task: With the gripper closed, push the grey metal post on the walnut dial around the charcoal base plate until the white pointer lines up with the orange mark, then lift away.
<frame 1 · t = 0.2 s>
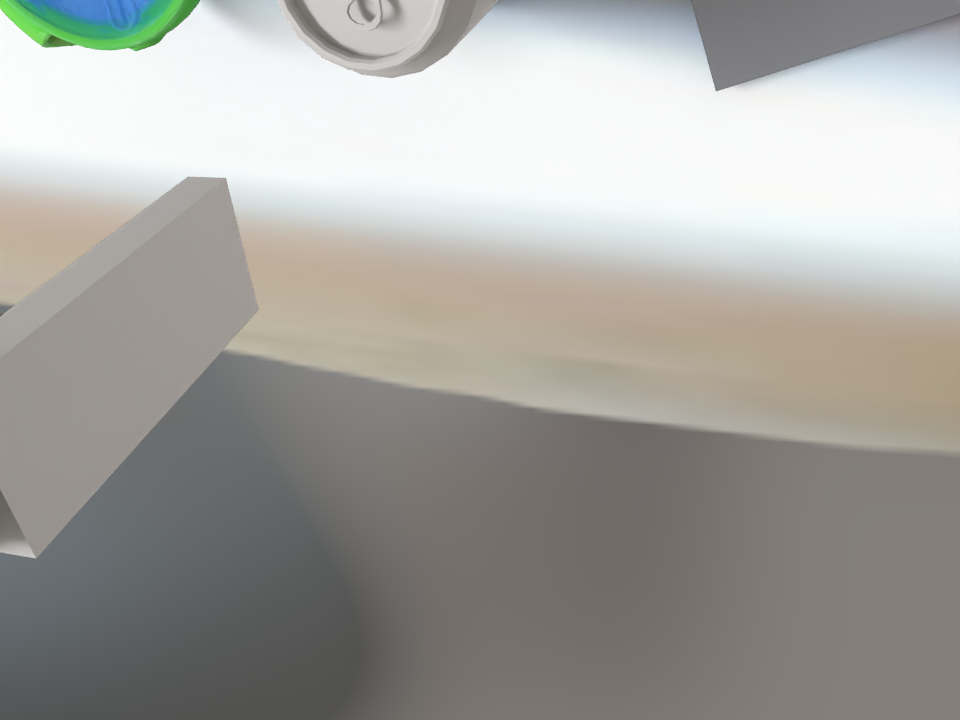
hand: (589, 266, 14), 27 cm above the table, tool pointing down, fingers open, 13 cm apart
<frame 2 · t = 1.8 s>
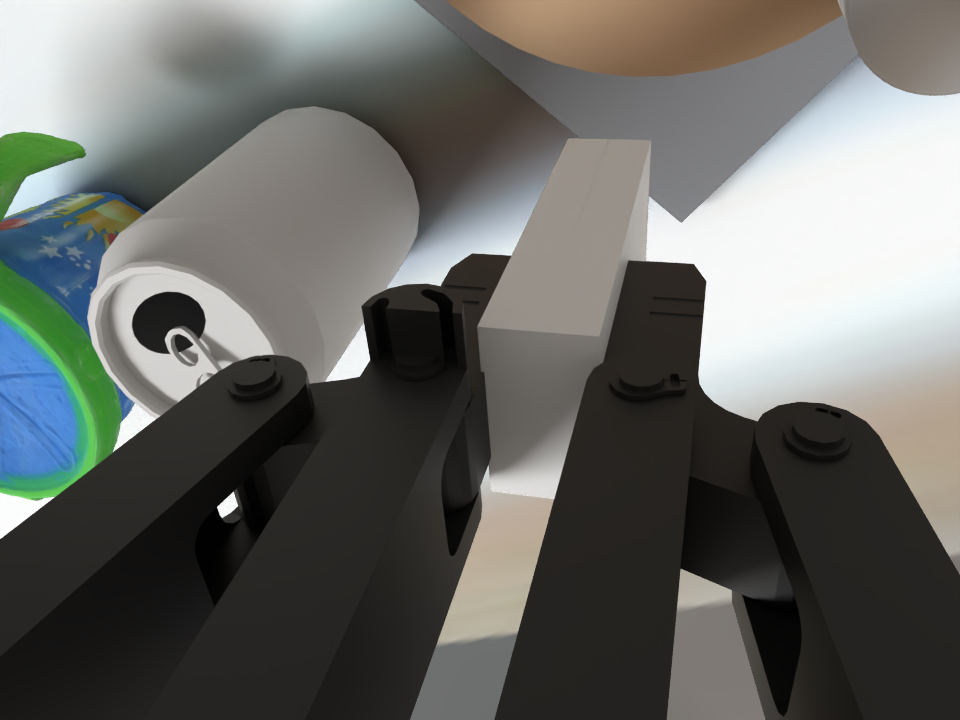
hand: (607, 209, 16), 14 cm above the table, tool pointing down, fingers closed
snack cup: (128, 259, 39), on the table
can: (338, 189, 34), on the table
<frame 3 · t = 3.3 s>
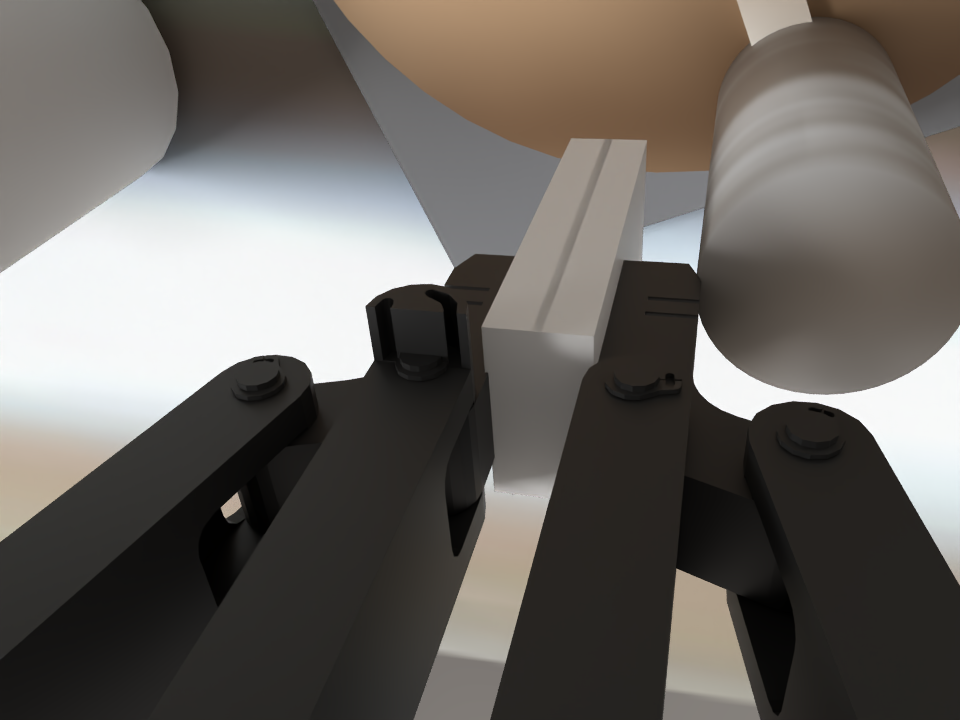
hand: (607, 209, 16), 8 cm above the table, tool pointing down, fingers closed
can: (86, 55, 26), on the table
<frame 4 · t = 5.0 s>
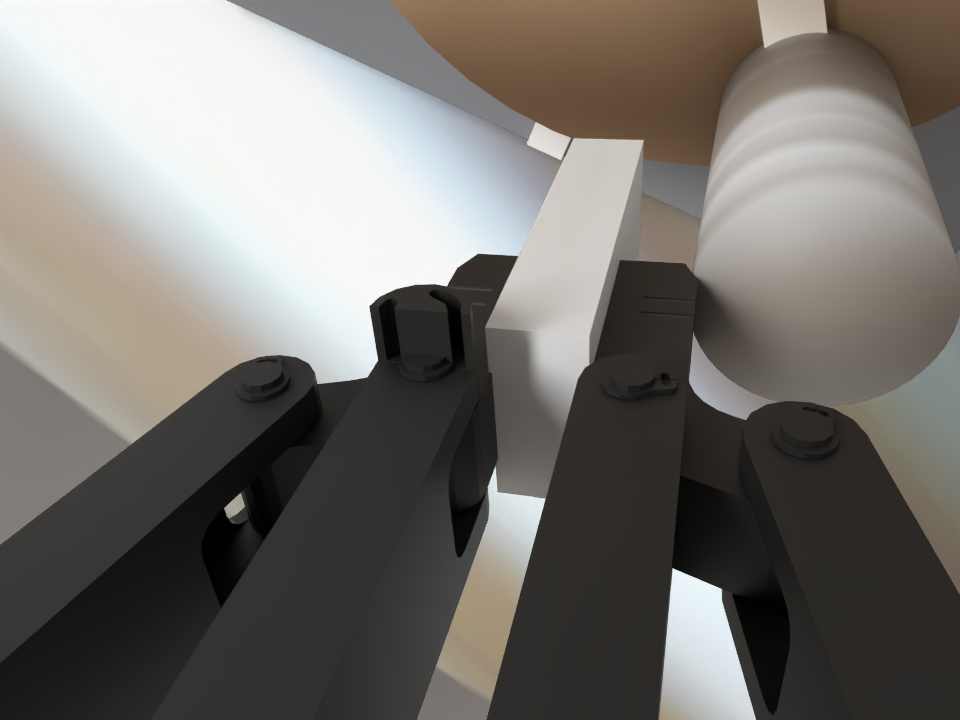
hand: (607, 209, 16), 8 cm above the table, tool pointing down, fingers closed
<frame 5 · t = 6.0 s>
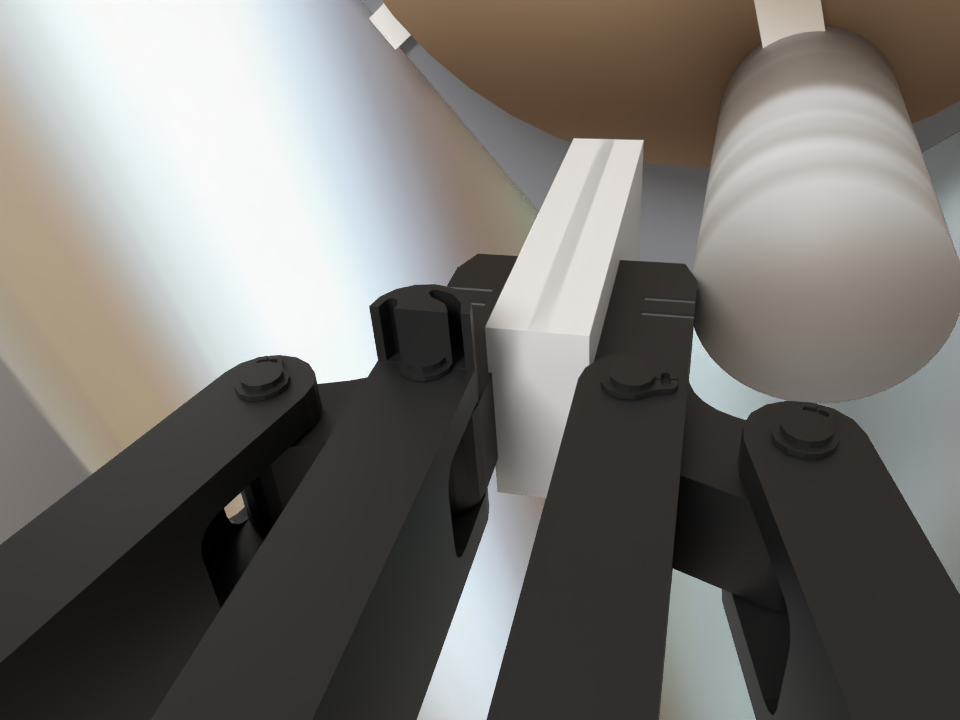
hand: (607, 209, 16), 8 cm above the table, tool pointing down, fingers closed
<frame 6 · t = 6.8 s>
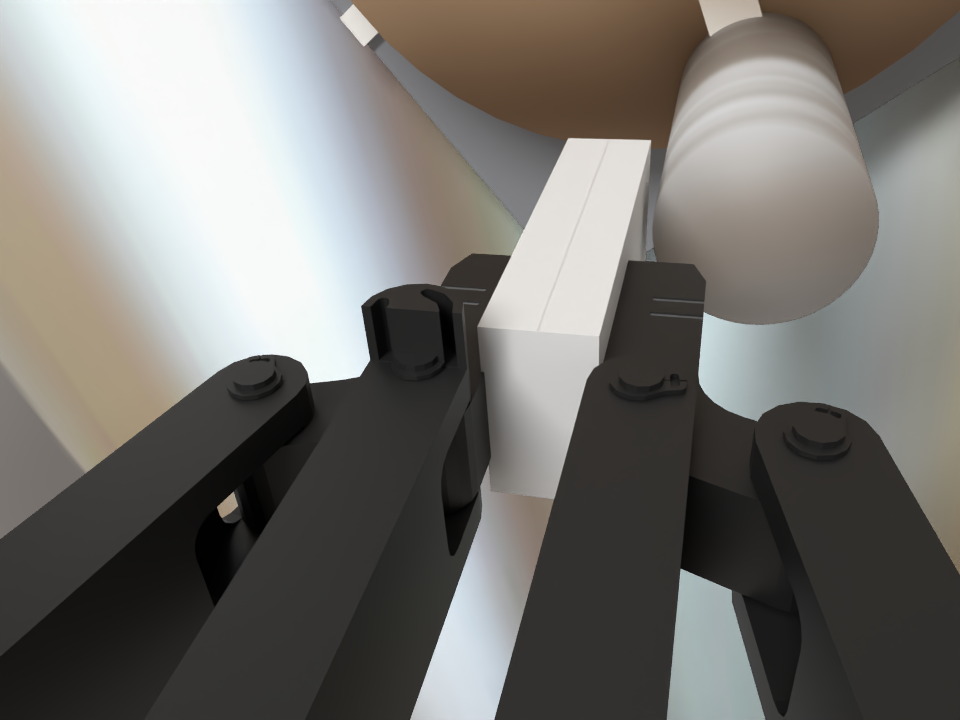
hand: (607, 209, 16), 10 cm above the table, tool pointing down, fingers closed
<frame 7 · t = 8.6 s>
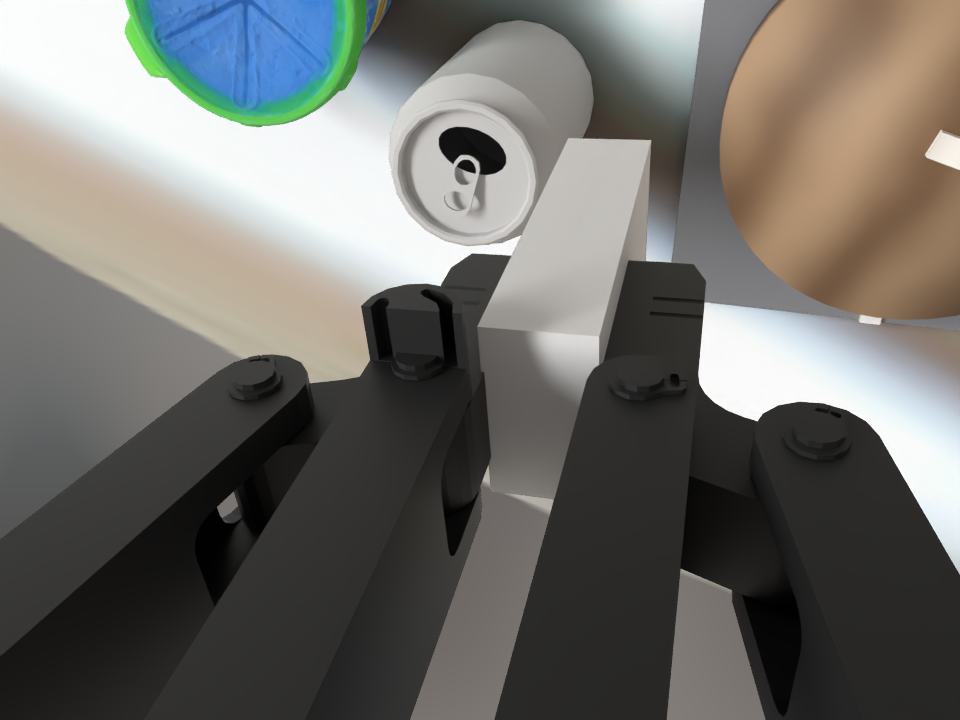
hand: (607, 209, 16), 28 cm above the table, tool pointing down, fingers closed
dial base: (920, 118, 40), on the table
dial: (954, 170, 35), point 6 cm above the table, hinge at 73.1°
can: (525, 91, 44), on the table
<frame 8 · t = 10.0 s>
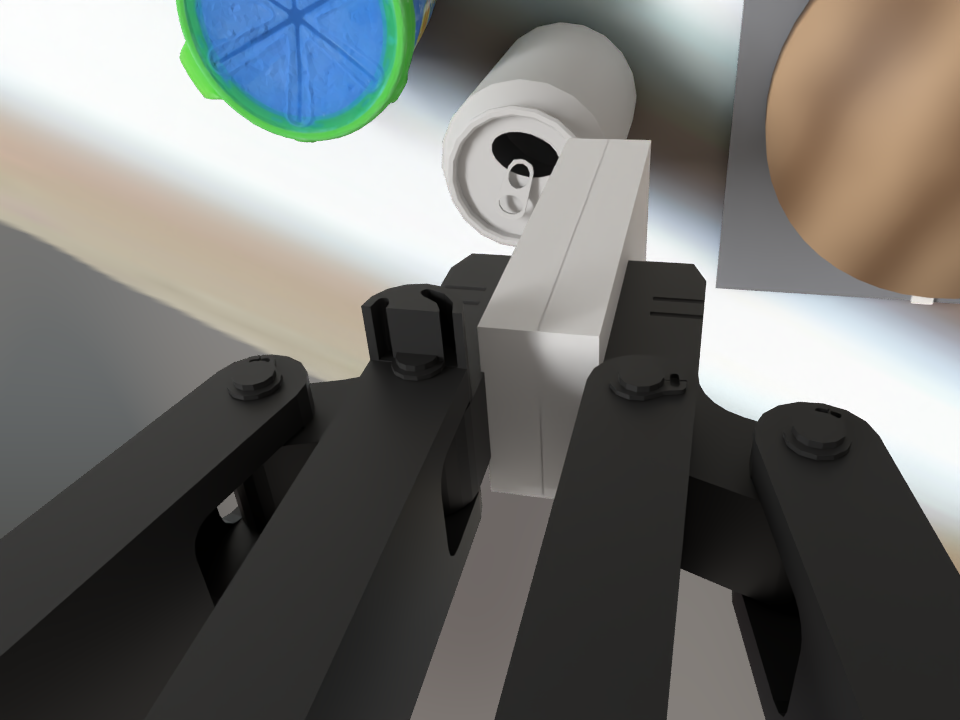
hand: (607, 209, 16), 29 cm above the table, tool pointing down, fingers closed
can: (566, 91, 45), on the table
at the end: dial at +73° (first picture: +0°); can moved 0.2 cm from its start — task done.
